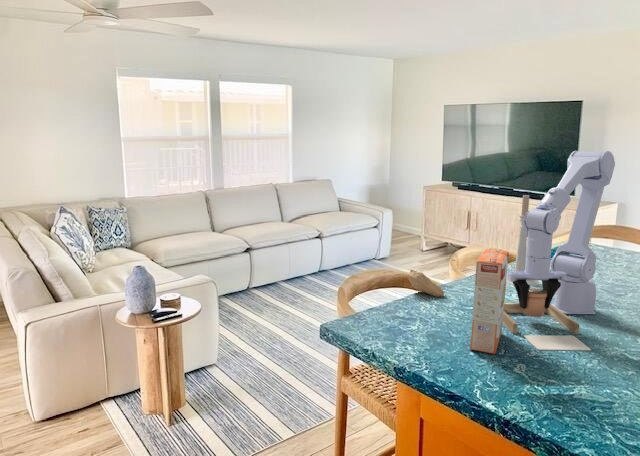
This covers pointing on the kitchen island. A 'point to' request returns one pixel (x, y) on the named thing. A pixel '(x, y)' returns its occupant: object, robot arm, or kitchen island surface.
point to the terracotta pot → (535, 302)
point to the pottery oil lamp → (424, 284)
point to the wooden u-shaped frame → (552, 311)
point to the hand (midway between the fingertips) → (534, 307)
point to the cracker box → (489, 300)
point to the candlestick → (522, 244)
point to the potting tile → (556, 342)
